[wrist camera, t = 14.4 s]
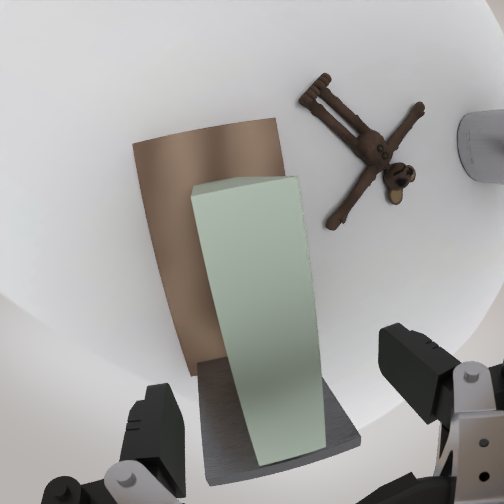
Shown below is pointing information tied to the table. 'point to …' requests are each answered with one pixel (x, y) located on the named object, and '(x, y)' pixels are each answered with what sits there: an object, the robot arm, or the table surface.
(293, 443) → the sage book
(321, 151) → the table surface
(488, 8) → the table surface
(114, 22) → the table surface
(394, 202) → the wooden monkey figure
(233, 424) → the grey metal bookend
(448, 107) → the table surface
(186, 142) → the walnut shelf board
